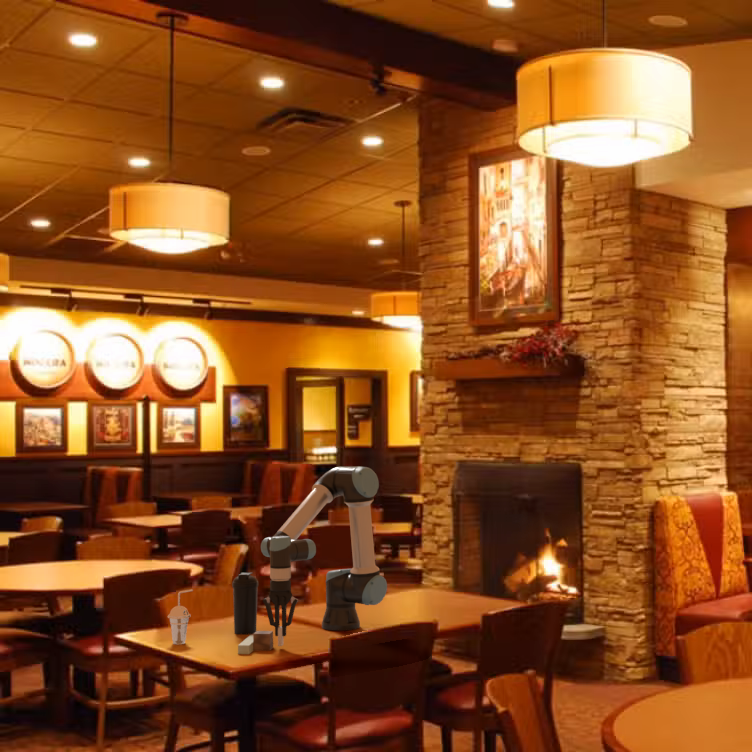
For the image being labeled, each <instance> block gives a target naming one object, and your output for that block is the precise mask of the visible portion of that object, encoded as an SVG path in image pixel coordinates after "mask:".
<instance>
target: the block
mask: <svg viewBox="0 0 752 752" xmlns="http://www.w3.org/2000/svg"><path fill="white" fill-rule="evenodd" d="M252 635H253V651H257V652H259V651H260V652H261V651H269V652H270V651H271V650H272V649H273V648H274V630H256V632H255V633H254V634H252Z"/></svg>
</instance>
